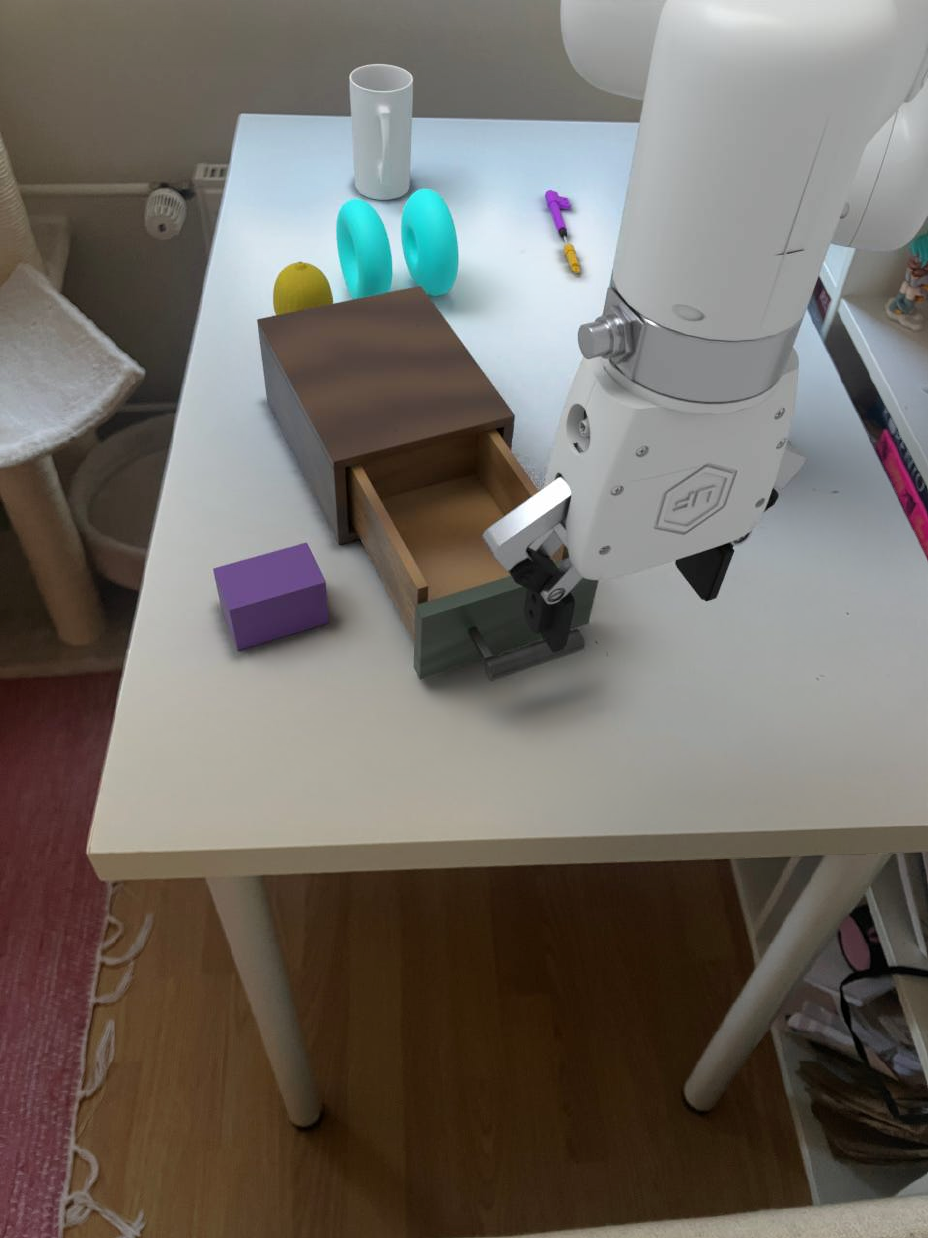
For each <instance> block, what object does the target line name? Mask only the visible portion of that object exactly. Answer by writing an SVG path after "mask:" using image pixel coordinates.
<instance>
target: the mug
mask: <svg viewBox="0 0 928 1238" xmlns="http://www.w3.org/2000/svg"><path fill="white" fill-rule="evenodd" d="M348 78H349V103H350V119H351V120H350V121H351V137H352V138H351V139H352V155H353V157H352V158H353V176H354V185H355V189H356V190H357V192H358V193H359V194H361V195H362V196H364V197H365V198H369V199H373V200H378V201H389V200H394V199H399V198H401V197H403V196H404V195H406V194H407V193H408V192H409V189H410V183H411V182H410V181H411V166H412V165H411V162H412V161H411V160H412V135H413V134H412V131H413V103H414V101H413V100H414V77H413V75H412V74H411V72H409V71H408V70H406V69H404V68H402V67H400V66H397V65H392V64H387V63H386V64H385V63H373V64H372V63H371V64H366V65H361V66H359V67H356V68H355V69H353V70H352V71H351V72H350V73H349V77H348Z"/></svg>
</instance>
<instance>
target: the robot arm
mask: <svg viewBox="0 0 928 1238" xmlns="http://www.w3.org/2000/svg"><path fill="white" fill-rule="evenodd" d="M559 9H560V11H559V12H560V13H559V17H560V18H559V19H560V22H559V23H560V32H561V38H562V44H563V47H564V50H565V53H566V55H567V57H568V59H569V62H570V64H571V66H572V67H573V68H574V70H575V71H576V73H577V74H578V75H580V77H582V78H583V79H584V80H585V81H586V82H587V83H588V84H590V85H591V86H593V87H595V88H596V89H598V90H601V91H603V92H606V93H608V94H613V95H617V96H621V97H625V98H628V99H633V100H638V101H643V102H642V107H641V111H640V117H639V123H638V128H637V134H636V140H635V146H634V149H633V156H632V161H631V166H630V172H629V176H628V181H627V182H628V183H627V188H626V193H625V198H624V204H623V209H622V213H621V220H620V225H619V230H618V236H617V241H616V242H617V243H616V247H615V253H614V258H613V263H612V268H611V274H610V280H609V284H608V287H607V290H606V295H605V299H604V305H603V310H602V315H601V316H597V318H595V320H594V321H592V322H587V323H582V324H581V325H580V326H579V328H578V330H577V343H578V349H579V351H580V353H581V355H582V358H581V361H580V363H579V365H578V368H577V370H576V373H575V375H574V378H573V381H572V383H571V386H570V388H569V391H568V393H567V396H566V400H565V401H564V405H563V408H562V411H561V414H560V417H559V421H558V424H557V427H556V430H555V435H554V438H553V441H552V447H551V450H550V454H549V459H548V463H547V467H546V473H545V478H544V484H543V488H542V489H539V492H538V493H536V494H535V495H533V496H532V497H531V498H529V499H528V500H527V501H525V502H524V503H522V504H521V505H520V506H518V507H517V508H515V509H514V510H513V511H511V512H510V513H508V514H507V515H506V516H504V517H503V518H502V519H500V520H499V521H497V522H496V523H495V524H493V525H492V526H490V527H489V528H488V529H487V530H485V532H484V533H483V536H482V538H483V540H484V542H485V544H486V545H487V547H488V548H489V550H490V552H491V553H492V555H493V556H494V558H495V559H496V560H497V561H498V562H499V564H500V565H501V566H502V567H503V568H504V569H505V570H506V571H507V572H508V573H509V574H510V575H511V576H512V578H513V579H514V581H515V582H516V583H517V584H519V585H521V586H523V587H525V588H527V592H526V598H525V604H524V615H525V619H526V621H527V623H528V625H529V627H530V628H531V630H532V631H533V632H534V633H535V634H537V633H541V635H542V637H543V638H544V639H543V640H545V641H546V643H547V645H548V646H549V648H550V649H551V651H552V652H553V653H555V652H558V651H561V650H563V649H564V646H566V645H567V640H568V636H569V631H570V626H571V622H572V617H573V612H574V608H575V599H574V597H573V595H572V594H571V592H570V591H571V590H572V589H573V588H574V587H575V585H576V584H577V583H578V582H579V581H580V580H581V579H582V578H585V579H590V580H599V581H607V580H612V579H613V580H614V579H617V578H621V577H625V576H629V575H631V574H636V573H639V572H642V571H645V570H648V569H652V568H655V567H658V566H661V565H664V564H665V565H666V564H668V563H671V562H674V561H675V562H674V564H675V567H676V569H677V570H678V571H679V572H680V574H681V575H682V577H684V579H685V580H686V582H687V583H688V584H689V586H691V588H692V589H693V591H694V592H695V593H696V595H697V596H698V598H699V599H701V600H702V601H705V602H709V601H713V600H715V599H717V598H718V596H719V594H720V590H721V588H722V585H723V583H724V580H725V578H726V574H727V571H728V569H729V567H730V564H731V561H732V559H733V556H734V553H735V549H734V547H737V546H741V545H742V544H744V543H745V542H747V541H748V539H750V537H751V536H752V533H753V530H754V529H755V528H756V527H757V525H758V524H759V522H760V520H761V519H762V518H763V517H762V516H763V515H764V513H765V512H766V511H768V510H769V509H770V508H772V507H774V506H775V504H776V503H777V500H778V499H779V492H778V491H779V490H780V489H784V488H785V487H786V486H787V485H788V484H789V482H790V481H792V479H793V478H794V477H795V475H797V473H798V472H799V471H800V470H801V468H803V467H804V465H805V464H806V462H807V459H806V457H805V455H804V454H803V453H801V451H799V449H798V448H797V447H796V446H795V445H794V444H793V443H792V442H791V441H790V440H789V435H790V432H791V429H792V428H791V427H792V423H793V422H792V421H793V417H794V413H795V408H796V403H797V402H796V401H797V394H798V386H799V370H800V368H799V367H800V359H799V354H798V352H797V351H796V349H795V348H794V345H795V342H796V340H797V337H798V334H799V331H800V328H801V326H802V323H803V321H804V319H805V315H806V313H807V311H808V307H809V304H810V301H811V298H812V295H813V293H814V289H815V287H816V285H817V281H818V280H819V276H820V274H821V271H822V268H823V266H824V262H825V260H826V257H827V255H828V252H829V249H830V246H831V245H835V246H839V247H843V248H844V247H845V248H851V249H855V250H861V251H867V252H873V253H887V252H892V251H896V250H899V249H901V248H903V247H904V246H906V245H907V244H909V243H910V242H911V241H912V240H913V239H914V238H915V236H917V234H918V233H919V232H920V230H921V229H922V226H923V225H924V223H925V221H926V220H927V217H928V0H560V8H559ZM532 542H533V543H532ZM531 543H532V544H531ZM530 544H531V545H530ZM562 544H563V545H564V546H565V548H566V549H567V551H568V553H569V558H568V559H567V560H566V561H565V562H564V564H563V565H562V566H561V567H560V568H559V569H558V568H557V566H556V565H555V563H554V562H553V560H552V559H550V558H551V557H552V556H553V554H554V553H555V552H556V551H557V550H558V549H559V548H560V546H561V545H562ZM529 545H530V546H529ZM528 546H529V547H528Z"/></svg>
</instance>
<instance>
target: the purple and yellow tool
mask: <svg viewBox="0 0 928 1238" xmlns="http://www.w3.org/2000/svg"><path fill="white" fill-rule="evenodd" d="M544 199H545V201H546V205H547V207H548V209H549V211H550V214H551V216H552V220H553V222H554V225H555V228H556V231H557V234H558V235H559V237H560V238H561V239H563V240H564V242H565V245H563V253H564V256H565V258H566V259H567V262H568V264H569V265H568V266H569V268H570V269H571V271H572V272H573V273H576V274H580V273H581V270H580V263H579V260H578V257H577V251H576V249H575V246H574V245H573V244H572V243H568V239H567V237H568V228H567V226H566V222H565V221H564V218H563V215H562V212H561V209H563V210H567V211H570V209H571V207H572V206H571V203H570V200H569V198H568V197H565V196H561V195H559V193H558V191H555V190H552V189H548V190H547V191H545V194H544Z"/></svg>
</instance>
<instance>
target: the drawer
mask: <svg viewBox="0 0 928 1238" xmlns="http://www.w3.org/2000/svg"><path fill="white" fill-rule="evenodd" d="M345 473H346V492H347V511H348V517H349V518H350V520H351V522H352V524H353V526H354V528H355V530H356V532H357V534H358V536H359V538H360V539H359V540H360V542H361V543H362V545H363V548H364V549H365V551H366V553H367V555H368V557H369V558H370V561H371V562H372V564H373V566H374V568H375V570H376V571H377V574H378V577H380V579H381V581H382V583H383V585H384V587H385V589H386V591H387V593H388V595H389V596H390V599H391V601H392V603H393V604H394V606H395V608H396V611H397V612H398V614H399V615H400V617H401V620H402V622H403V623H404V625H405V628H406V629H407V631H408V633H409V635H410V637H411V639H412V641H413V669H414V671H415V673H416V675H417V677H418V679H419V681H420V680H421V681H422V680H424V679H426V678H429V677H433V676H435V675H436V676H437V675H440V674H442V673H445V672H448V671H451V670H454V669H456V668H460V667H464V666H466V665H468V664H472V663H475V662H478V661H482V668H483V672H484V675H485V677H486V678H487V679H488V681H490V682H493V681H495V680H499V679H501V678H504V677H507V676H510V675H513V674H515V673H520V672H523V671H525V670H528V669H531V668H533V667H536V666H539V665H542V664H546V663H548V662H552V661H554V660H557V659H560V658H564V657H565V656H566V657H567V656H569V655H572V654H574V653H577V652H581V651H583V650H584V649H585V647H586V644H585V639H584V636H583V634H582V632H581V630H579V629H577V628H580V627H583V626H587V625H588V624H589V622H590V619H591V615H592V611H593V606H594V603H595V602H594V601H595V598H596V594H597V589H598V584H599V582H600V580H590V579H585V578H582V579H581V580H580V581H579V582H578V583H577V584H576V585H575V587H574V588H573V589H572V590H571V591H570V592H571V594H572V595H573V597H574V599H575V608H574V612H573V617H572V622H571V626H570V631H569V636H568V640H567V645H566V646H564V649H563V650H561V651H558V652H555V653H553V652H552V651H551V649H550V648H549V646H548V645H547V643H546V641H545V640H544V638H543V637H542V635H541V633H537V634H535V633H534V632H533V631H532V630H531V628H530V627H529V625H528V623H527V621H526V619H525V615H524V604H525V598H526V592H527V588H525V587H523V586H521V585H519V584H517V583H516V582H515V581H514V579H513V578H512V576H511V575H510V574H509V573H508V572H507V571H506V570H505V569H504V568H503V567H502V566H501V565H500V564H499V562H498V561H497V560H496V559H495V558H494V556H493V555H492V553H491V552H490V550H489V548H488V547H487V545H486V544H485V542H484V540H483V538H482V536H483V533H484V532H485V530H487V529H488V528H489V527H490V526H492V525H493V524H495V523H496V522H497V521H499V520H500V519H502V518H503V517H504V516H506V515H507V514H508V513H510V512H511V511H513V510H514V509H515V508H517V507H518V506H520V505H521V504H522V503H524V502H525V501H527V500H528V499H529V498H531V497H532V496H533V495H535V494H536V493H538V492H539V491H540V489H538V487H537V486H536V484H535V483H534V482H533V480H532V479H531V477H530V476H529V474H528V473H527V472H526V470H525V469H524V467H523V466H522V464H521V463H520V462H519V460H518V459H517V458H516V456H515V454H514V453H513V451H512V449H511V450H510V449H509V447H508V446H507V445H506V443H505V442H504V440H503V439H502V437H501V436H500V434H499V433H498V432H497V430H496V429H493V430H489V431H485V432H481V433H477V434H473V435H469V436H465V437H461V438H458V439H454V440H450V441H446V442H442V443H438V444H434V445H430V446H427V447H423V448H419V449H415V450H411V451H407V452H403V453H399V454H396V455H392V456H388V457H384V458H380V459H376V460H372V461H368V462H364V463H361V464H357V465H353V466H349V467H345ZM532 543H533V542H532ZM532 543H531V544H532ZM531 544H530V545H531ZM530 545H529V546H530ZM529 546H528V547H529ZM568 558H569V553H568V551H567V549H566V548H565V546H564V545H563V544H562V545H561V546H560V548H559V549H558V550H557V551H556V552H555V553H554V554H553V556H552V557H551V558H550V559H552V560H553V562H554V563H555V565H556V566H557V568H558V569H559V568H560V567H561V566H562V565H563V564H564V562H565V561H566V560H567V559H568Z"/></svg>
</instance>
